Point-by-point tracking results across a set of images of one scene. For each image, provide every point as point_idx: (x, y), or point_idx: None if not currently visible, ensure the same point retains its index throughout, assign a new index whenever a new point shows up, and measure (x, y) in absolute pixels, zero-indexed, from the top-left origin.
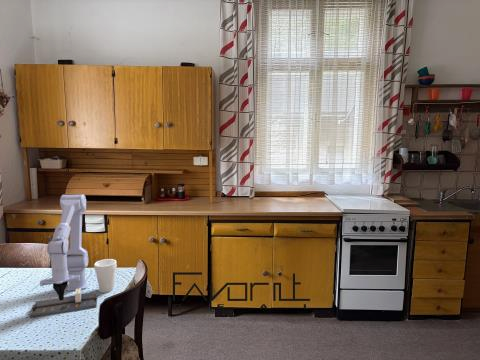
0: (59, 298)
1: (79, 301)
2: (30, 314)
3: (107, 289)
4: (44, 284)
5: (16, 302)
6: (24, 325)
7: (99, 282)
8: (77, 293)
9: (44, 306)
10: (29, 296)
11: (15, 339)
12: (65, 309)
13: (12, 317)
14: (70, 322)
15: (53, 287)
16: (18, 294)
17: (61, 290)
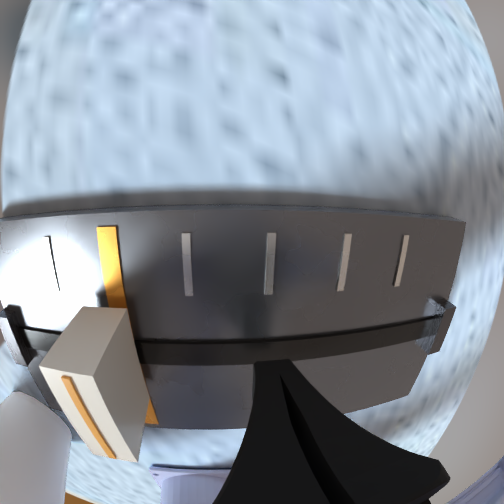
0: (297, 372)
1: (90, 308)
2: (463, 232)
3: (12, 401)
4: (495, 474)
5: (445, 395)
6: (464, 131)
7: (32, 455)
8: (64, 372)
9: (391, 326)
10: (399, 435)
11: (454, 15)
12: (215, 208)
13: (491, 265)
14: (164, 5)
15: (446, 475)
16: (419, 439)
17: (295, 459)
